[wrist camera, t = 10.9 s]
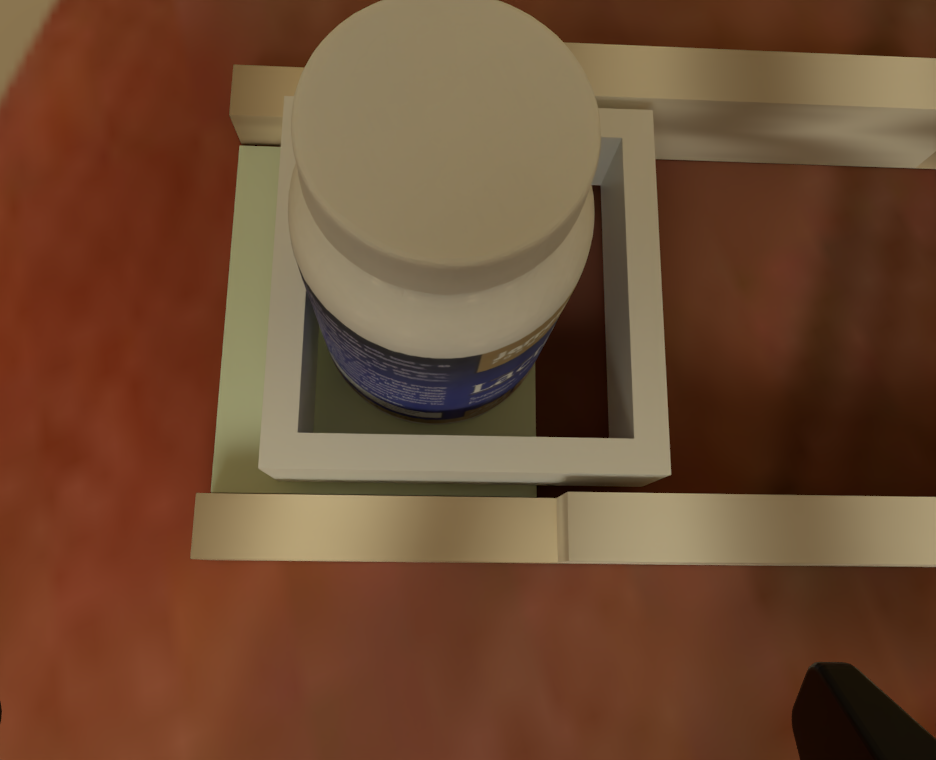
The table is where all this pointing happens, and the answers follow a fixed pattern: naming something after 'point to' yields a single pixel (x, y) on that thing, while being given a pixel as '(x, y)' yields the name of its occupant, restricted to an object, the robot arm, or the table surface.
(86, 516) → the table surface
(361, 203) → the pill bottle
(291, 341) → the collar carriage
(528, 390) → the pad
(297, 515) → the oak channel
